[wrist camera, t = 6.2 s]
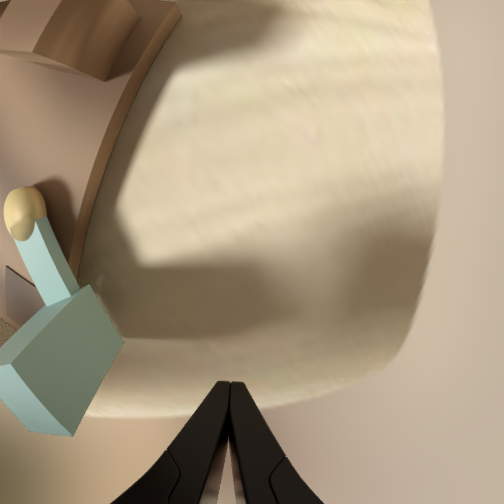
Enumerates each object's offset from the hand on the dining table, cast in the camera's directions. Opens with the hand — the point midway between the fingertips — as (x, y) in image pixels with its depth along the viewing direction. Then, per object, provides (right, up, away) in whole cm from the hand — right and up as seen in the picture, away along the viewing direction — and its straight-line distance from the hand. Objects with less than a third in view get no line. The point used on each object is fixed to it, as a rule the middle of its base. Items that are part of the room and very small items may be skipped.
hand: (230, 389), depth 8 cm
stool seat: (-14, +10, +1) cm, 18 cm away
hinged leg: (-8, +4, +2) cm, 9 cm away
